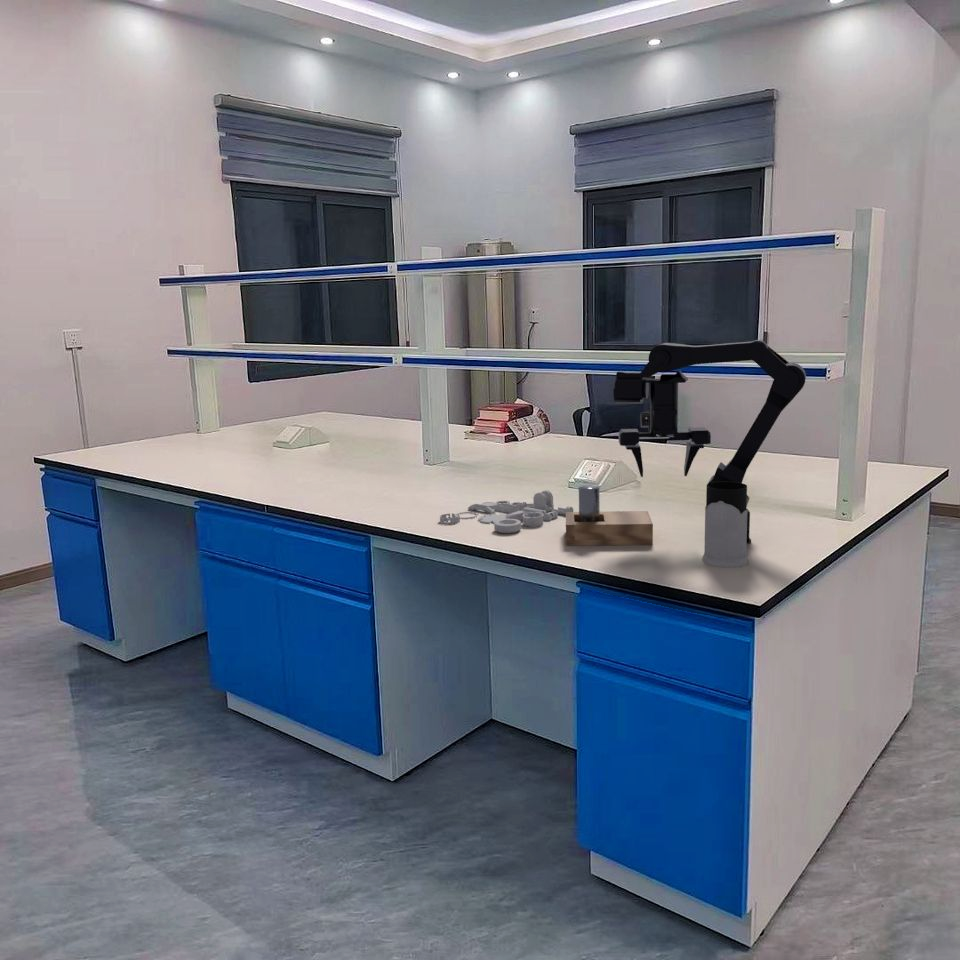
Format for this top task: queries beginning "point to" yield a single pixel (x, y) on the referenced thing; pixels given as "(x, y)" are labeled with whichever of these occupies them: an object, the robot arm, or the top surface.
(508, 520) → the robot parts
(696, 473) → the top surface
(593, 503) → the axle
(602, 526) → the wooden block with hole
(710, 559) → the glass holder
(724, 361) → the robot arm
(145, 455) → the top surface
